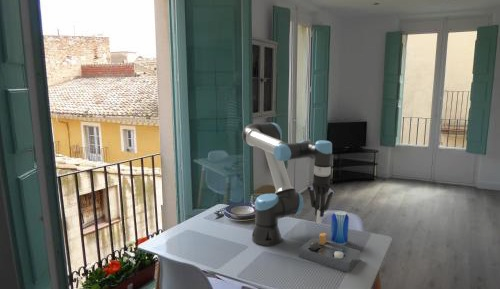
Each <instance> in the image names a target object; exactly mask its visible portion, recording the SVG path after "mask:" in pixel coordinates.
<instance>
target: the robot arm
mask: <svg viewBox="0 0 500 289" xmlns="http://www.w3.org/2000/svg"><path fill="white" fill-rule="evenodd" d="M241 132H242V133H241V139H242V141H243V142H244V143H245V144H246V145H248V146H250V147H257V148H259V149H261V150H263V151H264V154H265V157H266V161H267V164H268V168H269V171H270V173H271V178H272V182H273V186H274V188H275V192H274V193H264V194H261V195H259V196H258V197H256V199H255V204H254V208H255V210H254V212H255V214H254V216H255V226H254V228H253V232H252V233H251V234H252V235H251V240H252V242H253V243H254V244H256V245H259V246H275V245H277V244H279V243H280V242H281V241H282V235H281V231H280V228H279V219H282V218H286V217H287V218H288V217H294V216H296V215H298V214H301V212H302V211H303V209H304V205H305V204H304V198H303V195H302V194H301V193H300V192H298V191H296V188H295V187H293V186H292V184H291V182H290V181H291V180H290V177H289V175H288V172H287V168H286V165H285V162H287V161H293V160H300V159H312V160H313V161H314V163H313V179H312V180H313V182H312V185H309V186H307V190H308V193H309V198H310V204H311V207H312V208H314V212H315V213H314V216H316V220H315V221H316V222H315V223H316V224H319V225H320V224H321V223H322V221H323V217H324V216H325V211H327V210H328V209H329V208H330V204H331V202H332V201H331V200H332V199H333V195H335V193H336V191H335V190H333V189H332V188H331V186H330V185H331V168H332V157H333V155H332V154H333V143H332V142H331V141H329V140H321V139H320V140H317V141H315V142H312V141H310V140H301V141H299V142H292V143H290V142H286V141H285V142H284V140H283V141H282V139H283V136H282V135H283V131H282V129H281V127H280V125H279V124H278V123H275V122H270V121H269V122H262V123H261V122H260V123H249V124H248V125H246V126H245V127H244V128H243V129H242V131H241ZM327 193H328V195H327V197H326V194H327Z"/></svg>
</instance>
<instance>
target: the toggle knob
mask: <svg viewBox="0 0 500 289" xmlns="http://www.w3.org/2000/svg"><path fill="white" fill-rule="evenodd" d="M327 236H328V234H327V233H325V232H321V233H320V234H318V237H319V240H320V242H319V243H321V244H325V243H326V241H327Z"/></svg>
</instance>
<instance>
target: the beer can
mask: <svg viewBox="0 0 500 289" xmlns="http://www.w3.org/2000/svg"><path fill="white" fill-rule="evenodd" d="M349 220H350V218H349V216H348V212H347V211H345V210H333V213H332V215H331V223H330V225H331V226H330V242H333V243H336V244H340V245H344V246H346V244H347V243H348V241H349V240H348V239H349Z"/></svg>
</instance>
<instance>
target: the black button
mask: <svg viewBox="0 0 500 289" xmlns="http://www.w3.org/2000/svg"><path fill="white" fill-rule="evenodd" d="M310 250H312V251H315V252H317V251H318V250H319V243H318V242H316V241H311V242H310Z"/></svg>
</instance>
